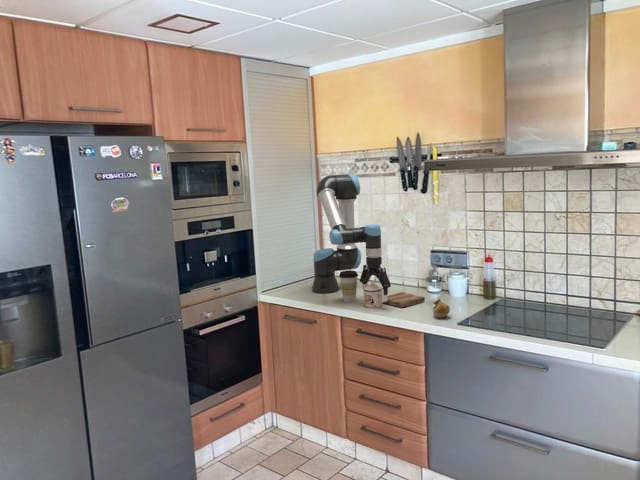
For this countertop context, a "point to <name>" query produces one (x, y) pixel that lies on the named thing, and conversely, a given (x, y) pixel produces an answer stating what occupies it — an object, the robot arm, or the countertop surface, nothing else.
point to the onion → (440, 309)
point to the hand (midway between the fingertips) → (375, 299)
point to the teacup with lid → (373, 296)
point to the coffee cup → (348, 285)
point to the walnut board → (403, 299)
